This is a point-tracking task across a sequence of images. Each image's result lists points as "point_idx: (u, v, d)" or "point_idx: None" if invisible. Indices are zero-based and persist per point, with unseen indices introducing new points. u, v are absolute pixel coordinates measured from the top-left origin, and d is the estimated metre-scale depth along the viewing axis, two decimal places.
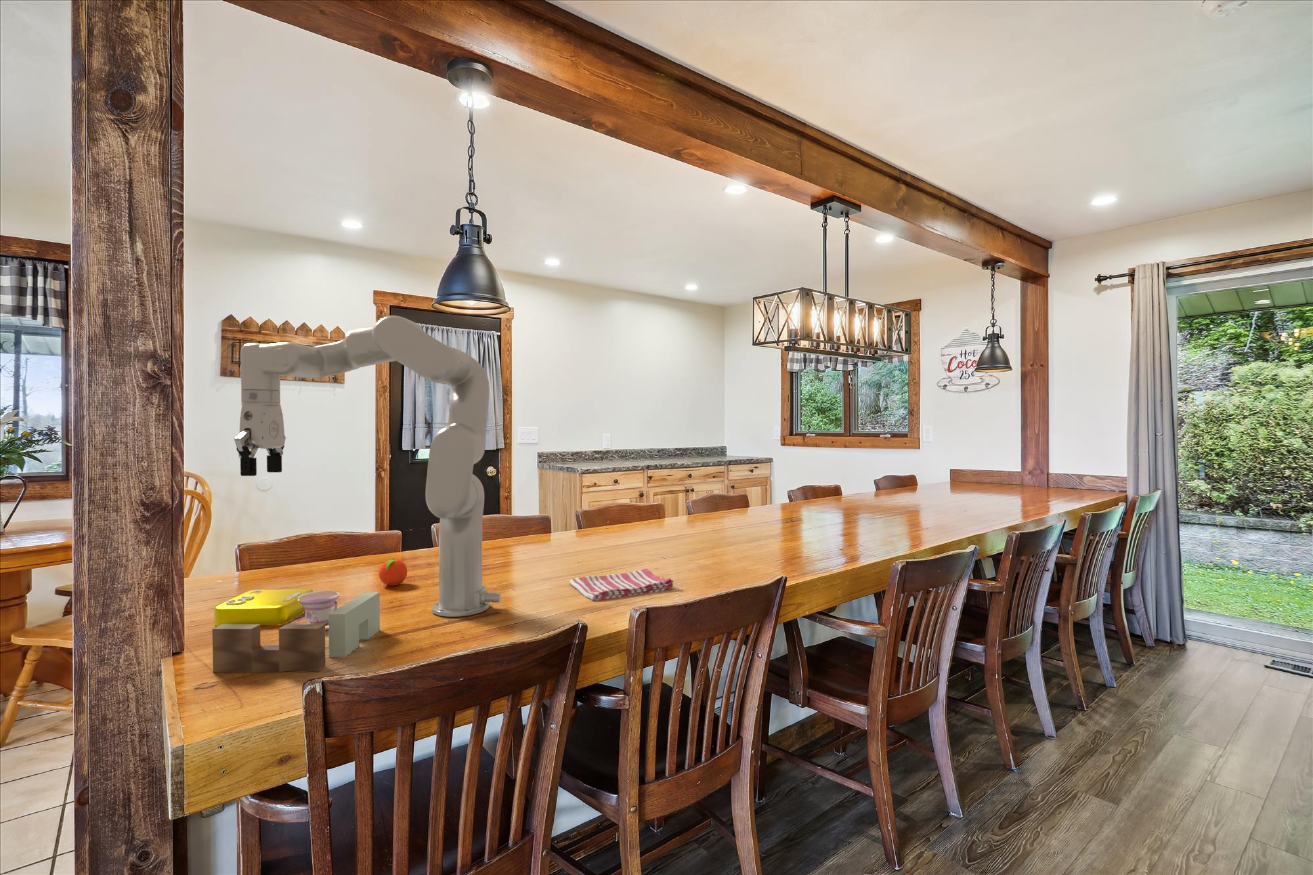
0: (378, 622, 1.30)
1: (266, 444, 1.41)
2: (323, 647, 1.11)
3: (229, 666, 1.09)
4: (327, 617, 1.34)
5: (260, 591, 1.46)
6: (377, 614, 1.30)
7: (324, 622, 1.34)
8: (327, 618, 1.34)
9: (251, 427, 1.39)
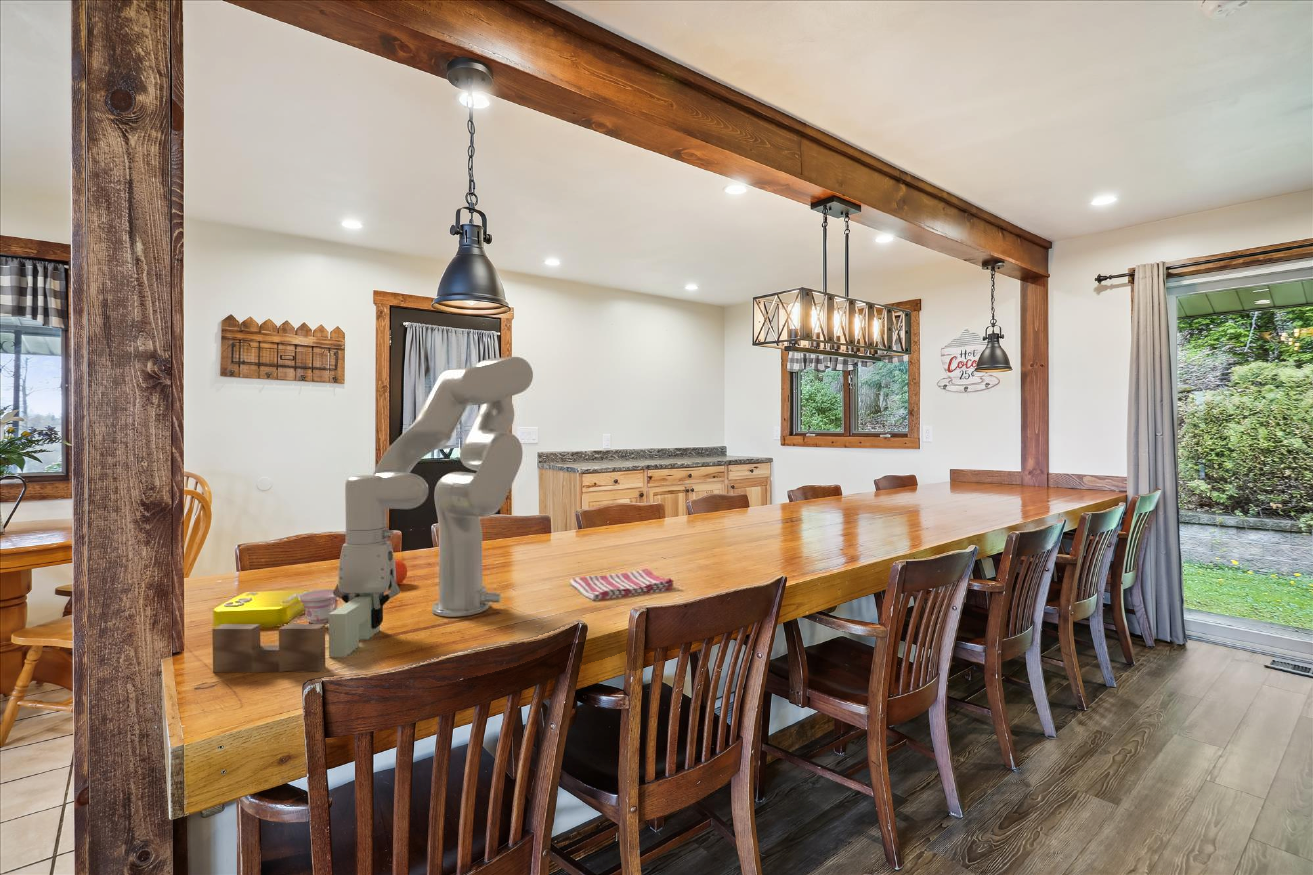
0: None
1: None
2: (323, 647, 1.11)
3: (229, 666, 1.09)
4: (328, 615, 1.35)
5: (256, 593, 1.44)
6: None
7: (324, 620, 1.35)
8: (327, 616, 1.35)
9: (393, 567, 1.29)
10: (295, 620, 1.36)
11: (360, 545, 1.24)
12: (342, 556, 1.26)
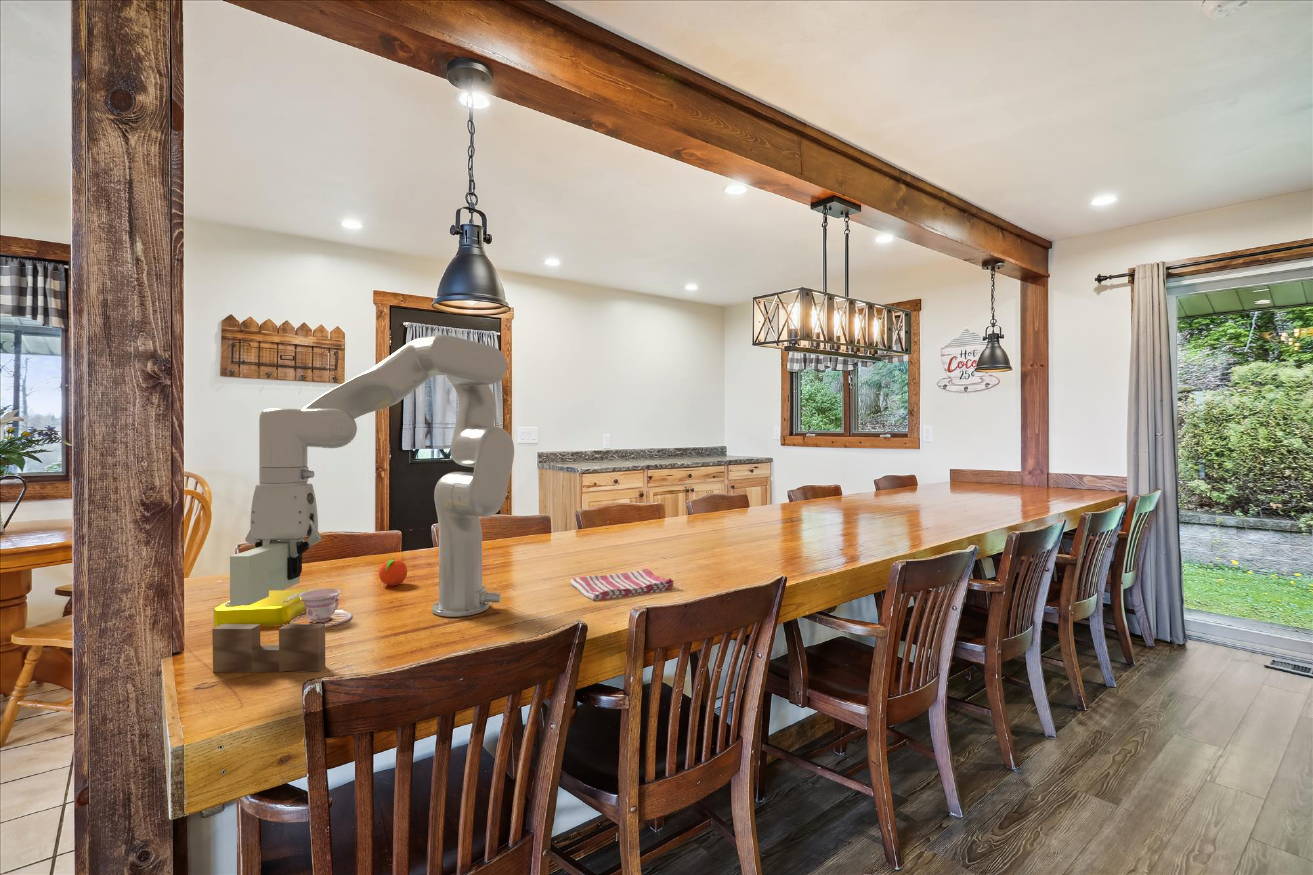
0: None
1: None
2: (323, 647, 1.11)
3: (229, 666, 1.09)
4: (329, 614, 1.36)
5: None
6: None
7: (325, 619, 1.36)
8: (328, 615, 1.36)
9: (314, 511, 1.15)
10: (296, 619, 1.37)
11: (274, 484, 1.11)
12: (255, 497, 1.12)
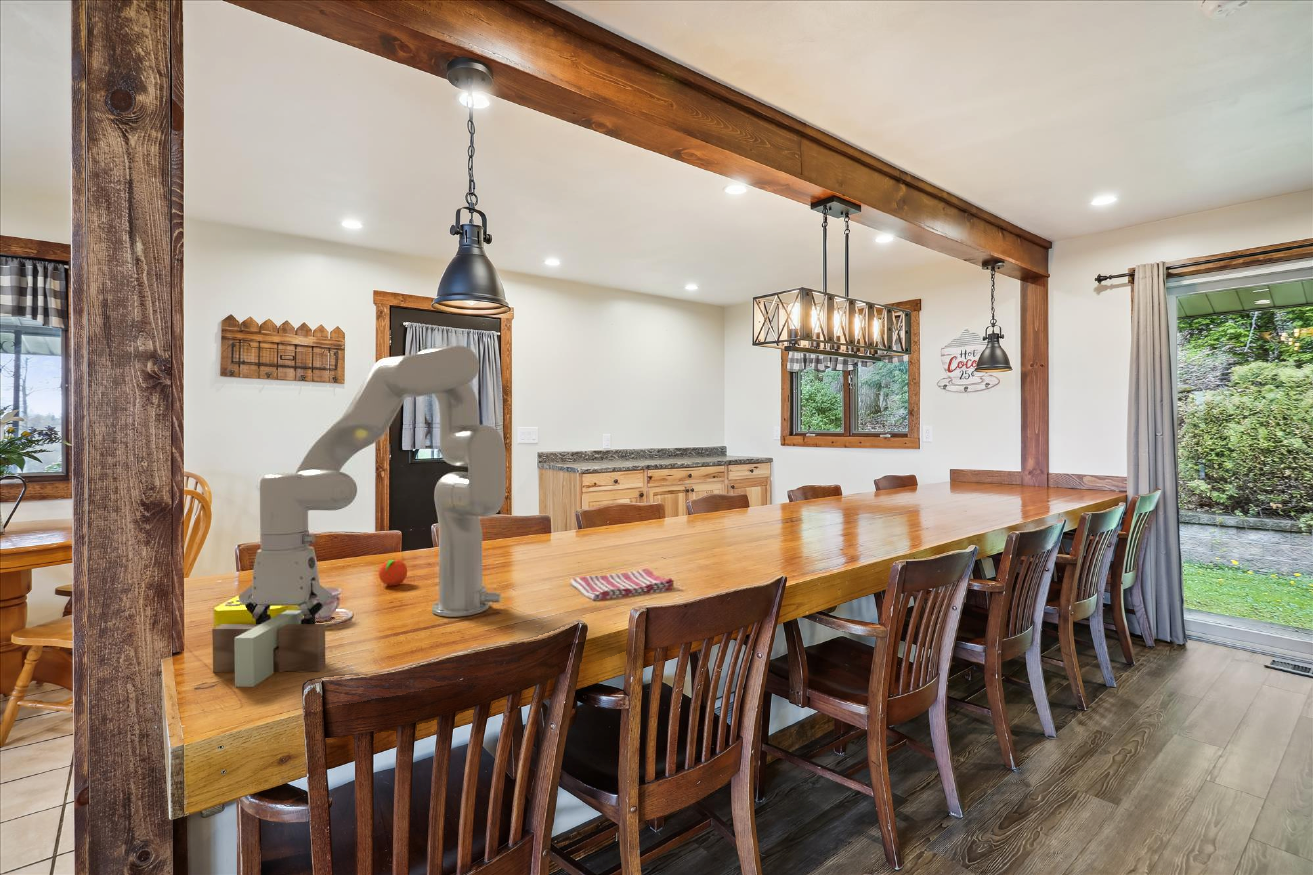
0: None
1: None
2: (323, 647, 1.11)
3: (229, 666, 1.09)
4: (330, 613, 1.37)
5: None
6: None
7: (326, 618, 1.37)
8: (329, 614, 1.37)
9: (315, 575, 1.16)
10: None
11: (275, 551, 1.11)
12: (256, 563, 1.13)
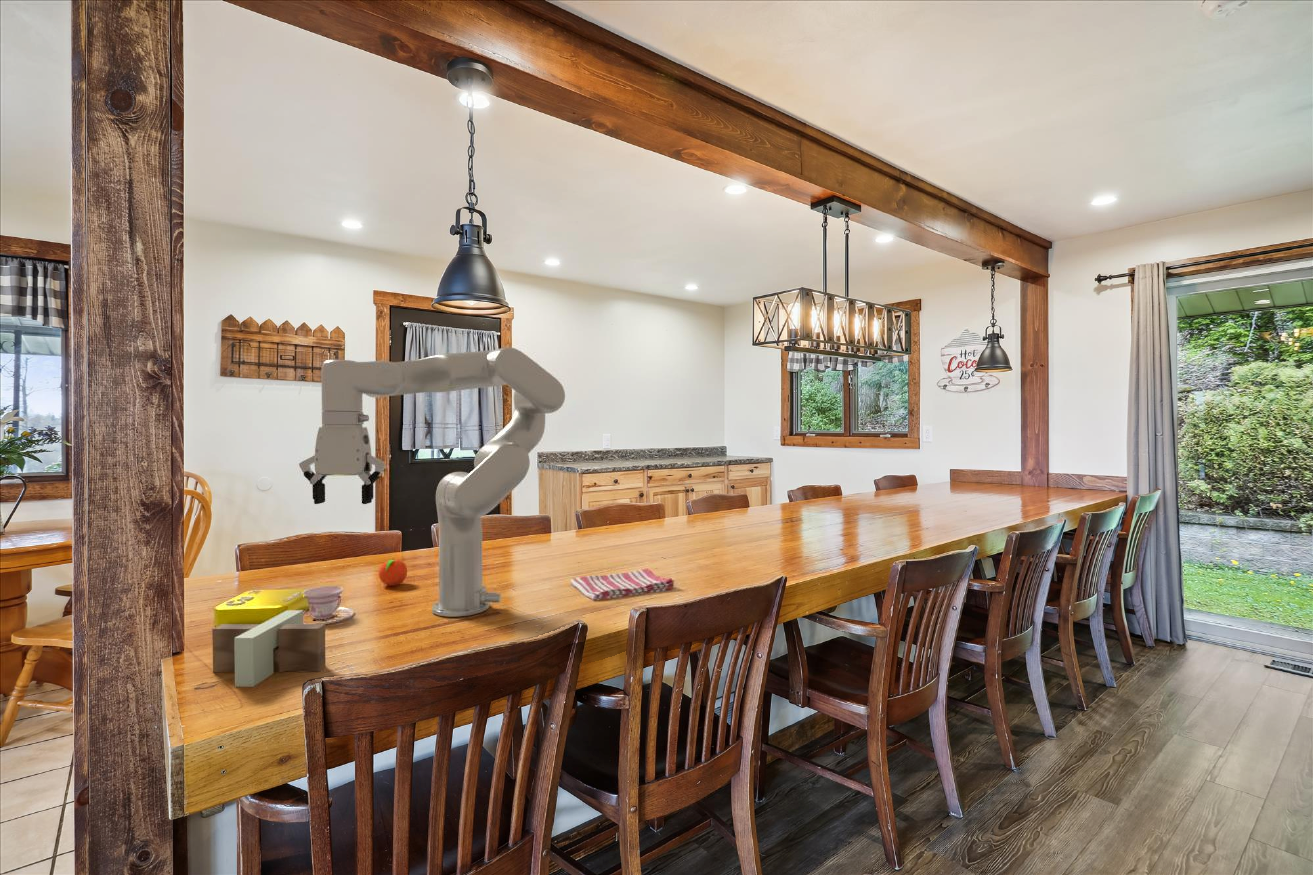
0: None
1: None
2: (323, 647, 1.11)
3: (229, 666, 1.09)
4: (331, 611, 1.38)
5: (258, 591, 1.45)
6: None
7: (328, 616, 1.38)
8: (331, 612, 1.38)
9: (369, 451, 1.31)
10: None
11: (336, 425, 1.27)
12: (318, 438, 1.28)
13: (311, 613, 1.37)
